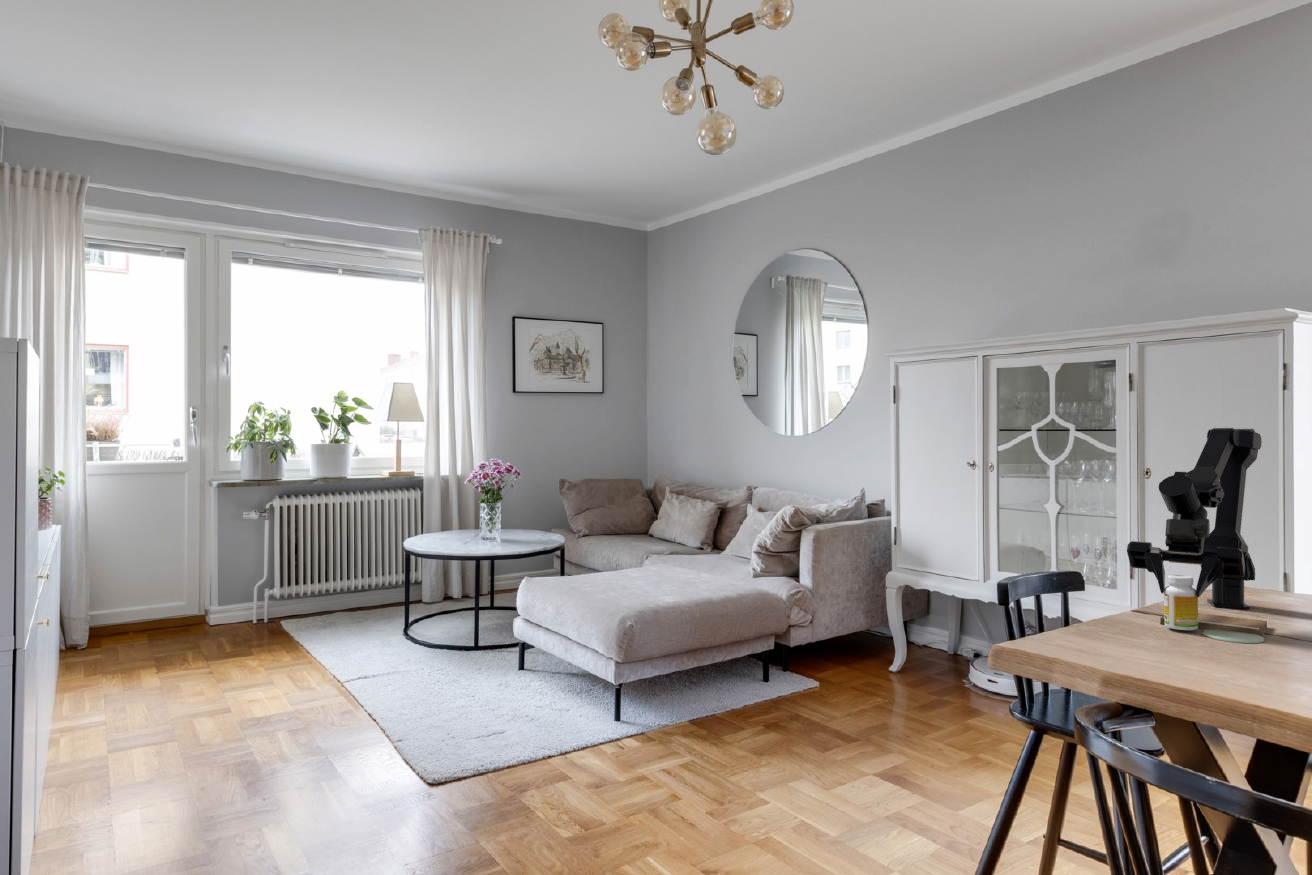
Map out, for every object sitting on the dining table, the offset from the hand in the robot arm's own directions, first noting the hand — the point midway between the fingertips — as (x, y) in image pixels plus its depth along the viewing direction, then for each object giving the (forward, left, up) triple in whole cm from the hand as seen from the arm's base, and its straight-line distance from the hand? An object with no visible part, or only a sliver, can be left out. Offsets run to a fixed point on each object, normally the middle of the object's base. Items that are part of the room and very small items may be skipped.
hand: (1179, 593), depth 151 cm
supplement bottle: (-1, +1, -7) cm, 7 cm away
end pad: (+1, +8, -7) cm, 11 cm away
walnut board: (-8, +7, -7) cm, 13 cm away
